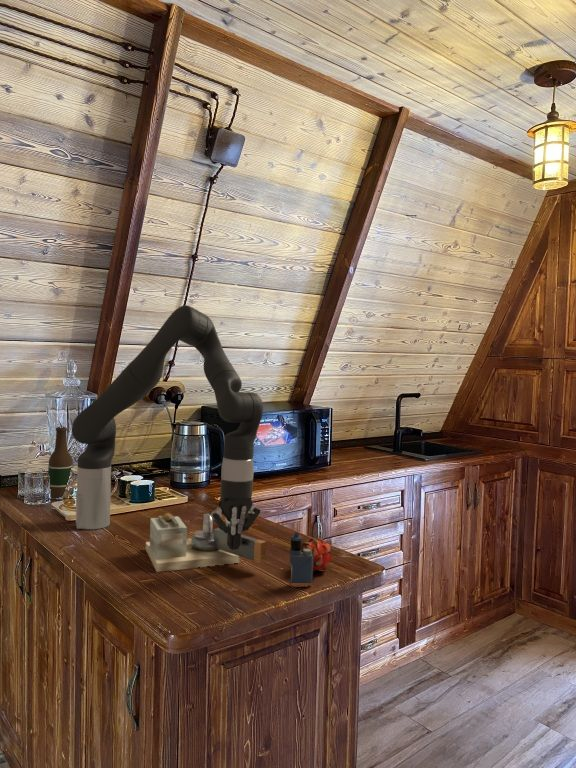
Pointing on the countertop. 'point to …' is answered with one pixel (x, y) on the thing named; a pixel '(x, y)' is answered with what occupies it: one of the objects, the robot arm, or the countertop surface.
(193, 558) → the stand
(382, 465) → the countertop surface
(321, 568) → the dragon fruit
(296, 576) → the vaping device
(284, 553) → the countertop surface
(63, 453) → the beer bottle
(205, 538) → the cam capstan
